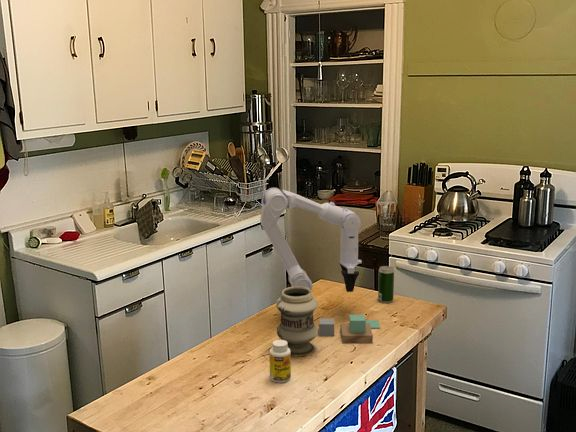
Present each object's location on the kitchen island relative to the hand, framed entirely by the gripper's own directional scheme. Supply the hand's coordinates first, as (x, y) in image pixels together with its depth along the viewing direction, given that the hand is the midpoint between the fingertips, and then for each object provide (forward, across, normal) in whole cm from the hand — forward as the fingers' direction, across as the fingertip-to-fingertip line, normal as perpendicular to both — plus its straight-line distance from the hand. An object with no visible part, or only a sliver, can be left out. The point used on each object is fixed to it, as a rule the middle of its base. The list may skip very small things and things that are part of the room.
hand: (348, 287), depth 204 cm
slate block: (+10, -15, +8) cm, 20 cm away
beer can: (+10, +12, -14) cm, 21 cm away
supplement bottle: (+10, -44, +22) cm, 50 cm away
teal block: (+7, -18, -1) cm, 20 cm away
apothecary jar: (+10, -26, +17) cm, 33 cm away
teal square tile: (+9, -9, -6) cm, 14 cm away
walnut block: (+10, -18, -1) cm, 21 cm away
